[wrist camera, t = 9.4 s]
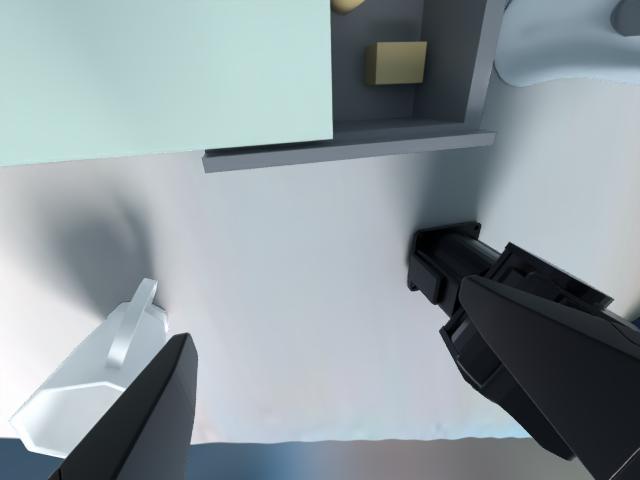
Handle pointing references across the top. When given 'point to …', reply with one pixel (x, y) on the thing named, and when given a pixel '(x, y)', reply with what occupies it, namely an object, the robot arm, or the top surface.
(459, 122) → the tub
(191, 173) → the top surface
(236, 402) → the top surface
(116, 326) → the cup
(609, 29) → the beer glass
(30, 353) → the top surface
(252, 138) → the lid
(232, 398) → the top surface
